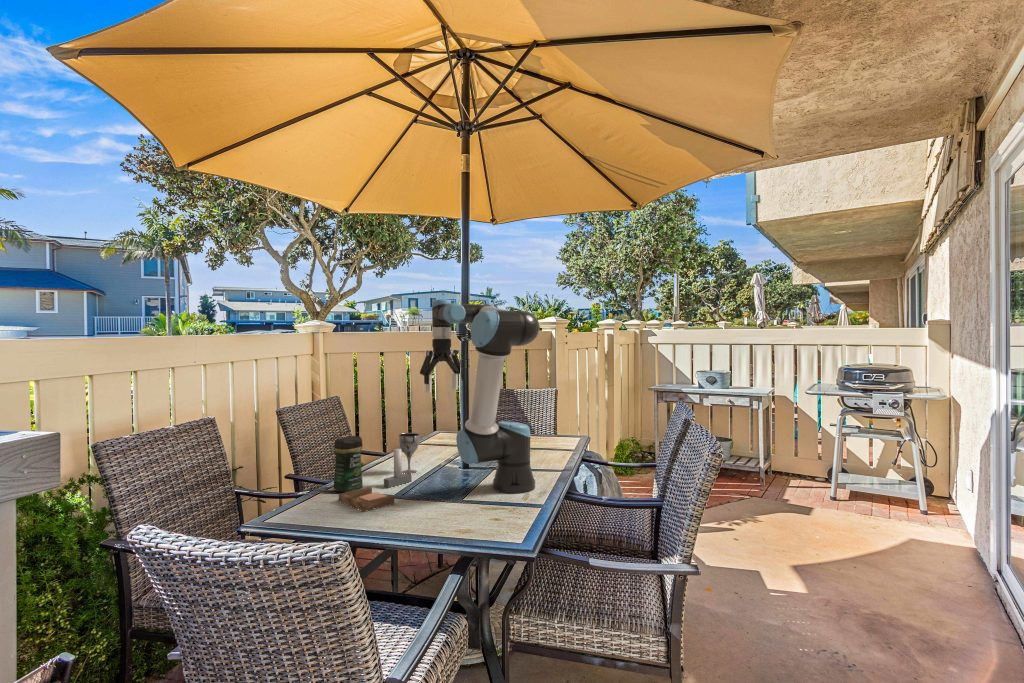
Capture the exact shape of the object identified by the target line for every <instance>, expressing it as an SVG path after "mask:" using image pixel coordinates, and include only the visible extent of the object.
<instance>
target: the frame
mask: <svg viewBox="0 0 1024 683" xmlns="http://www.w3.org/2000/svg"><path fill="white" fill-rule="evenodd" d="M371 493H373V487H371V486H367V487H361V488H359V489H356V490H353V491H348V492H342V493H341V492H339V493H338V502H339V501H341V502H343V503H345V504H344V505H346V504H347V505H346V506H348V505H349V506H348V507H350V506H352V507H351V508H353V507H354V508H353V509H355V508H356V510H357V509H359V510H358V511H360V510H361V511H360V512H362V511H365V512H367V511H366V510H368V511H371V510H370V509H372V510H374V509H373V508H376V509H378V508H377V507H380V508H382V506H383V507H386V506H385V505H387V506H390V505H389V504H391V505H394V504H395V495H393V494H391V495H387V496H385V497H381V498H378V499H374V500H370V501H366V502H364V501H361V500H359V499H358V497H360V496H363V495H367V494H371ZM341 502H340V503H341ZM343 503H342V504H343ZM393 503H394V504H393Z"/></svg>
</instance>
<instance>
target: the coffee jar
mask: <svg viewBox="0 0 1024 683" xmlns="http://www.w3.org/2000/svg"><path fill="white" fill-rule="evenodd" d="M333 450H334V455H335V463H334V464H335V465H334V466H335V468H334V469H335V470H334V475H333V476H334V477H333V489H334V490H335V491H336V492H338V491H339V492H338V493H341V492H342V493H345V492H349V491H352V490H357V489H361V488H363V484H364V483H363V472H362V460H361V458H362V450H363V438H362V437H361V436H357V435H350V436H349V435H348V436H345V437H341V438H336V439H335V440H334V447H333Z"/></svg>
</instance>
